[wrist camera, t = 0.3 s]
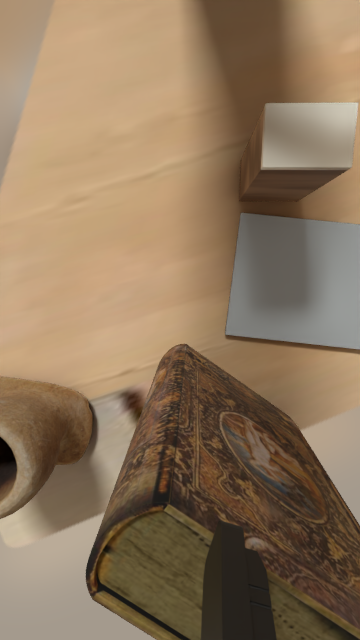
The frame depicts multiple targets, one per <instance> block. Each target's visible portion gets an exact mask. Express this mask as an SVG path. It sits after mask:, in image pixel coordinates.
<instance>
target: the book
mask: <svg viewBox="0 0 360 640" xmlns="http://www.w3.org/2000/svg"><path fill="white" fill-rule="evenodd" d="M219 520H220V521H224V522H228V523H231V524H235V525H238V526H242V527H243V530H244V540H245V548H248V549H251V550H255V551H257V552H258V554H259V556H260V558H261V560H262V562H263V564H264V566H265V568H266V571H267V577H268V584H269V594H270V598H271V605H272V609H271V610H272V611H273V618H274V625H275V632H276V639H277V640H360V526H359V524H358V522H357V521H356V519H355V517H354V516H353V514H352V513H351V511H350V509H349V508H348V506H347V505H346V503H345V501H344V500H343V498H342V497H341V495H340V493H339V492H338V490H337V489H336V487H335V485H334V484H333V482H332V481H331V479H330V478H329V476H328V475H327V473H326V471H325V470H324V468H323V466H322V465H321V463H320V462H319V460H318V459H317V457H316V455H315V454H314V452H313V451H312V449H311V447H310V446H309V444H308V443H307V441H306V439H305V438H304V437H303V435H302V433H301V431H300V430H299V428H298V427H297V425H296V424H295V423H294V421H293V420H292V419H291V418H290V417H289V416H288V415H286V414H285V413H283V412H282V411H281V410H279V409H278V408H276V407H275V406H274V405H272V404H271V403H269V402H268V401H267V400H265V399H264V398H262V397H261V396H260V395H258V394H257V393H255V392H254V391H252V390H251V389H250V388H248V387H247V386H245V385H244V384H242V383H241V382H240V381H238V380H237V379H235V378H234V377H232V376H231V375H230V374H228V373H227V372H225V371H224V370H222V369H221V368H219V367H218V366H217V365H215V364H214V363H212V362H211V361H209V360H208V359H207V358H205V357H204V356H202V355H201V354H199V353H198V352H197V351H195V350H194V349H192V348H191V347H189V346H188V345H187V344H180V345H177V346H175V347H173V348H171V349H170V350H169V351H168V352H167V353H166V354H165V355H164V356H163V358H162V359H161V361H160V363H159V366H158V369H157V371H156V374H155V377H154V380H153V382H152V385H151V388H150V391H149V393H148V396H147V399H146V402H145V404H144V407H143V410H142V413H141V415H140V418H139V421H138V424H137V427H136V429H135V432H134V435H133V438H132V440H131V443H130V446H129V449H128V451H127V454H126V457H125V460H124V462H123V465H122V468H121V471H120V473H119V476H118V479H117V482H116V485H115V487H114V490H113V493H112V496H111V498H110V501H109V504H108V507H107V509H106V512H105V515H104V518H103V520H102V524H101V526H100V529H99V532H98V534H97V537H96V540H95V543H94V545H93V548H92V551H91V554H90V557H89V560H88V563H87V569H86V583H87V587H88V591H89V593H90V596H91V597H92V599H93V600H94V601H96V602H97V603H99V604H101V605H102V606H104V607H105V608H107V609H109V610H110V611H112V612H113V613H115V614H117V615H118V616H120V617H121V618H123V619H125V620H126V621H128V622H129V623H131V624H133V625H134V626H136V627H137V628H139V629H141V630H142V631H144V632H146V633H147V634H149V635H151V636H152V637H153V638H155V639H157V640H201V621H202V598H203V577H204V569H205V563H206V558H207V555H208V551H209V548H210V545H211V542H212V539H213V536H214V533H215V530H216V527H217V524H218V521H219Z"/></svg>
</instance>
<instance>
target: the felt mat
mask: <svg viewBox="0 0 360 640" xmlns="http://www.w3.org/2000/svg"><path fill="white" fill-rule="evenodd" d="M225 335H233V336H242V337H251V338H260V339H270V340H279V341H288V342H297V343H306V344H315V345H324V346H333V347H342V348H351V349H360V224H350V223H340V222H329V221H319V220H309V219H299V218H289V217H279V216H269V215H259V214H249V213H241V214H240V222H239V229H238V237H237V245H236V252H235V260H234V268H233V276H232V283H231V291H230V299H229V307H228V314H227V322H226V330H225Z"/></svg>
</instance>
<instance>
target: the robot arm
mask: <svg viewBox="0 0 360 640" xmlns="http://www.w3.org/2000/svg"><path fill="white" fill-rule="evenodd" d="M271 609H272V605H271V598H270V594H269V584H268V577H267V571H266V568H265V566H264V564H263V562H262V560H261V558H260V556H259V554H258V552H257V551H255V550H251V549H248V548H245V540H244V530H243V527H242V526H238V525H235V524H231V523H228V522H224V521H220V520H219V521H218V524H217V527H216V530H215V533H214V536H213V539H212V542H211V545H210V548H209V551H208V555H207V558H206V563H205V569H204V577H203V598H202V621H201V640H277V639H276V632H275V625H274V618H273V611H272V610H271Z"/></svg>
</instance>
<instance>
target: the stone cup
mask: <svg viewBox="0 0 360 640" xmlns="http://www.w3.org/2000/svg"><path fill="white" fill-rule="evenodd" d="M92 426H93V415H92V412H91V410H90V409H89V403H88V400H87V399H86V397H84V396H83V395H82V394H81V393H79V392H77V391H74V390H72V389H69V388H66V387H63V386H59V385H56V384H51V383H46V382H38V381H31V380H25V379H18V378H9V377H2V376H0V519H1V518H4V517H6V516H9V515H11V514H13V513H14V512H16V511H17V510H19V509H20V508H22V507H23V506H24V505H25V504H27V503H28V502H29V501H30V500H31V499H32V498H33V497H34V496H35V495H36V494H37V492H38V491H39V490H40V489H41V487H42V486H43V485H44V484H45V482H46V481H47V479H48V478H49V476H50V475H51V473H52V471H53V469H54V467H55V465H67V464H73V463H75V462H77V461H78V460H79V459H80V458H81V457H82V456H83V454H84V453H85V451H86V449H87V447H88V444H89V441H90V438H91V434H92Z"/></svg>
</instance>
